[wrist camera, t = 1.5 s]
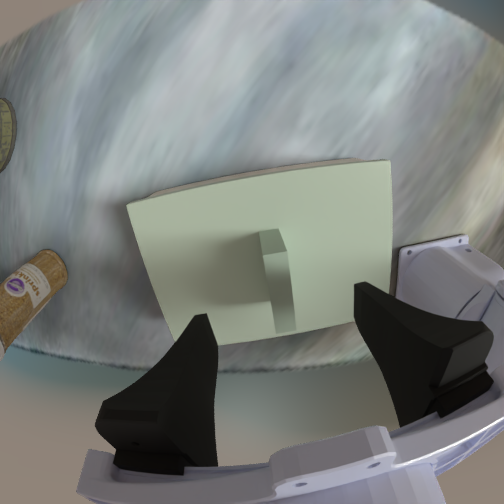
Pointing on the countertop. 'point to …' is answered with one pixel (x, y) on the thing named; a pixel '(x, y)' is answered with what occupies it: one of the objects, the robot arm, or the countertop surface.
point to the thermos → (7, 132)
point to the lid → (268, 248)
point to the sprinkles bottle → (28, 294)
